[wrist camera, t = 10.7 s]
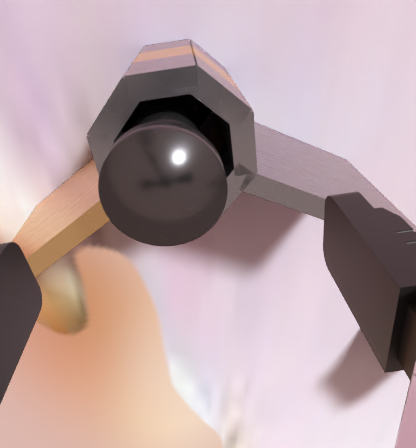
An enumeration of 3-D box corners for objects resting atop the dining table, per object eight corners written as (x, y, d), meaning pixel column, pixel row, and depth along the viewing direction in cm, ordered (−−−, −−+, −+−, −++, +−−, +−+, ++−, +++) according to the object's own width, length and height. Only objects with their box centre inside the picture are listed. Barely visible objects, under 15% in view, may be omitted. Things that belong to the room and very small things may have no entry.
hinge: (-21, 70, 23) (-146, 116, 14) (356, 13, 23) (470, 23, 14) (40, 215, 29) (-23, 315, 20) (346, 170, 28) (423, 250, 19)
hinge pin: (130, 69, 24) (80, 140, 12) (199, 58, 24) (220, 120, 12) (145, 136, 26) (116, 254, 14) (208, 127, 26) (233, 237, 14)
